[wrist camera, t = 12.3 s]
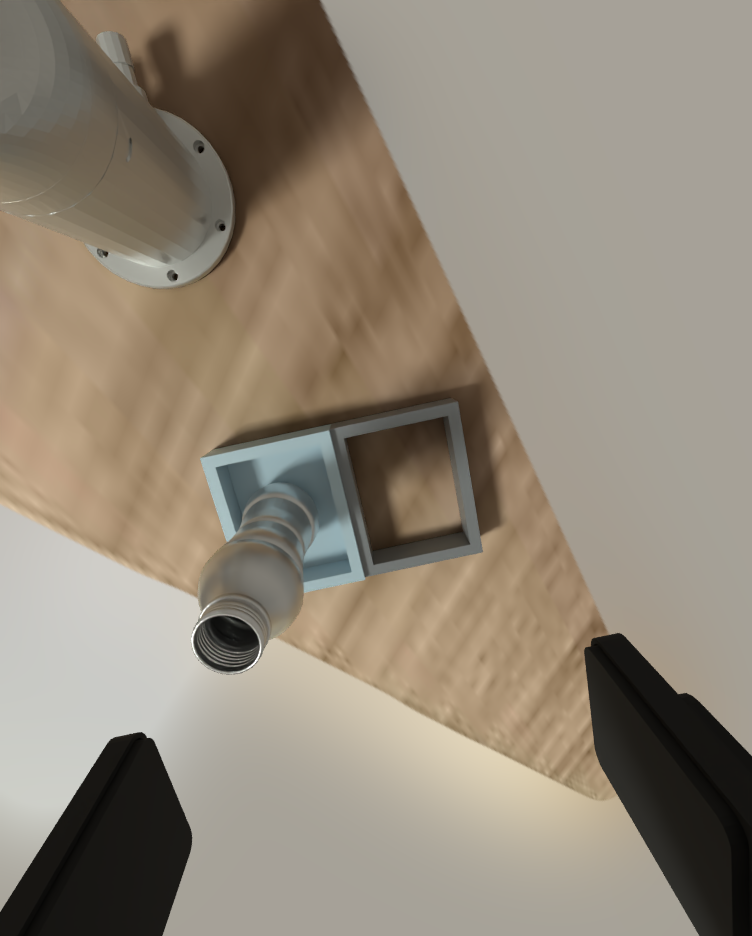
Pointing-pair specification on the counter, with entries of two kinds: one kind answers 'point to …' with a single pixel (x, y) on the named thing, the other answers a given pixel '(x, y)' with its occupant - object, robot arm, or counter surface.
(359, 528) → the bin
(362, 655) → the counter surface
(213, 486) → the bin
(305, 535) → the plastic bottle
